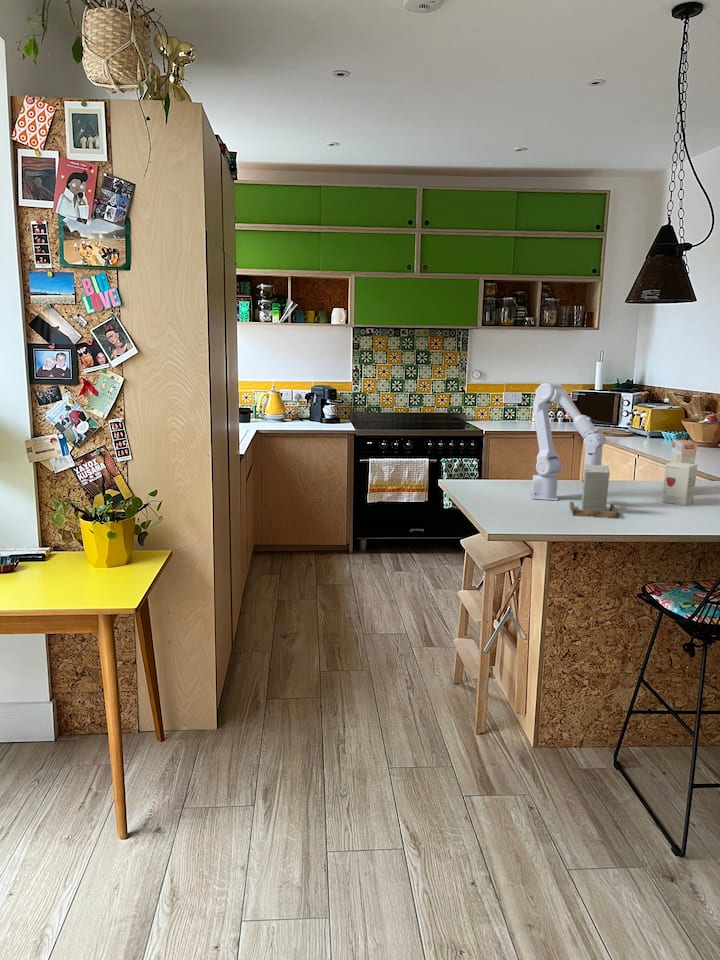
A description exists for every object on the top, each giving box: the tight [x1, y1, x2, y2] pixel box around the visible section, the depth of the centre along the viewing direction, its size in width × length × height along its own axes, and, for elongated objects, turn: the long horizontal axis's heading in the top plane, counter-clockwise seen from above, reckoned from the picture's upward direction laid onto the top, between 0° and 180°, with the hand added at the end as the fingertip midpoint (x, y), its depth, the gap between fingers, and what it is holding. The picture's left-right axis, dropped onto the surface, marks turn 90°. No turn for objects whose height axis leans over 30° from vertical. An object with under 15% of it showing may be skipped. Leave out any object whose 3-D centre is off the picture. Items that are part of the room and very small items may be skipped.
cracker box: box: [670, 438, 698, 464], centre depth 291 cm, size 14×6×21 cm, turn 171°
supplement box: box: [661, 461, 698, 506], centre depth 270 cm, size 9×9×15 cm
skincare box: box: [581, 464, 611, 511], centre depth 252 cm, size 8×7×16 cm
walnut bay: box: [569, 501, 620, 519], centre depth 251 cm, size 15×14×2 cm
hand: (590, 501), depth 262 cm, fingers open, 6 cm apart
